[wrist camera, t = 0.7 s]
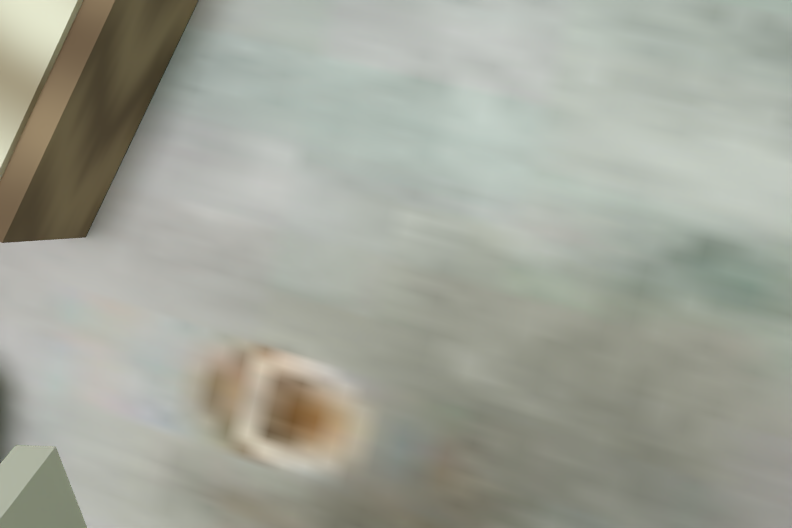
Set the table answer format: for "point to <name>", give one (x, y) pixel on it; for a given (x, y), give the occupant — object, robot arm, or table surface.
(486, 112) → the table surface
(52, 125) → the pedestal
